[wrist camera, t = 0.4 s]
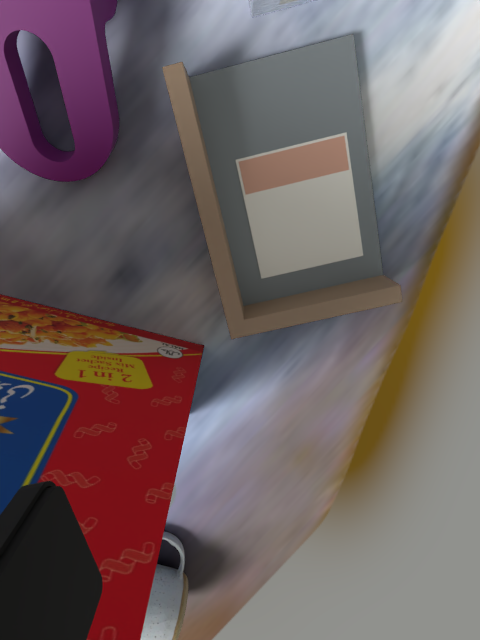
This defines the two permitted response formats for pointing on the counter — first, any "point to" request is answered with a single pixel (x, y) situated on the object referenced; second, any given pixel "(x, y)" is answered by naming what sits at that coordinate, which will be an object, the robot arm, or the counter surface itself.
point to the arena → (284, 186)
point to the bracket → (272, 5)
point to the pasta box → (97, 438)
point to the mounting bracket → (75, 81)
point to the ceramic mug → (167, 599)
